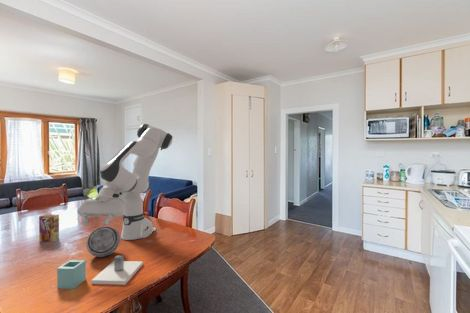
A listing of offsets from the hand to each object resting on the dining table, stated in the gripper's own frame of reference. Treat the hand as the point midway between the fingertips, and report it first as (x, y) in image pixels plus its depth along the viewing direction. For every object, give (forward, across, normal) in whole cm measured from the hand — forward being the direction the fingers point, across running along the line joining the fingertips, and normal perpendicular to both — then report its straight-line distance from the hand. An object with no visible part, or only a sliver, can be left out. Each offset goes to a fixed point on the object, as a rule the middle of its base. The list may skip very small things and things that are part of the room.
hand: (94, 224), depth 102 cm
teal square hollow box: (+23, -2, +6) cm, 24 cm away
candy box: (-7, -46, +37) cm, 60 cm away
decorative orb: (+6, -3, +23) cm, 24 cm away
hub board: (+18, +14, +11) cm, 25 cm away
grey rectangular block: (+17, +14, +10) cm, 24 cm away
